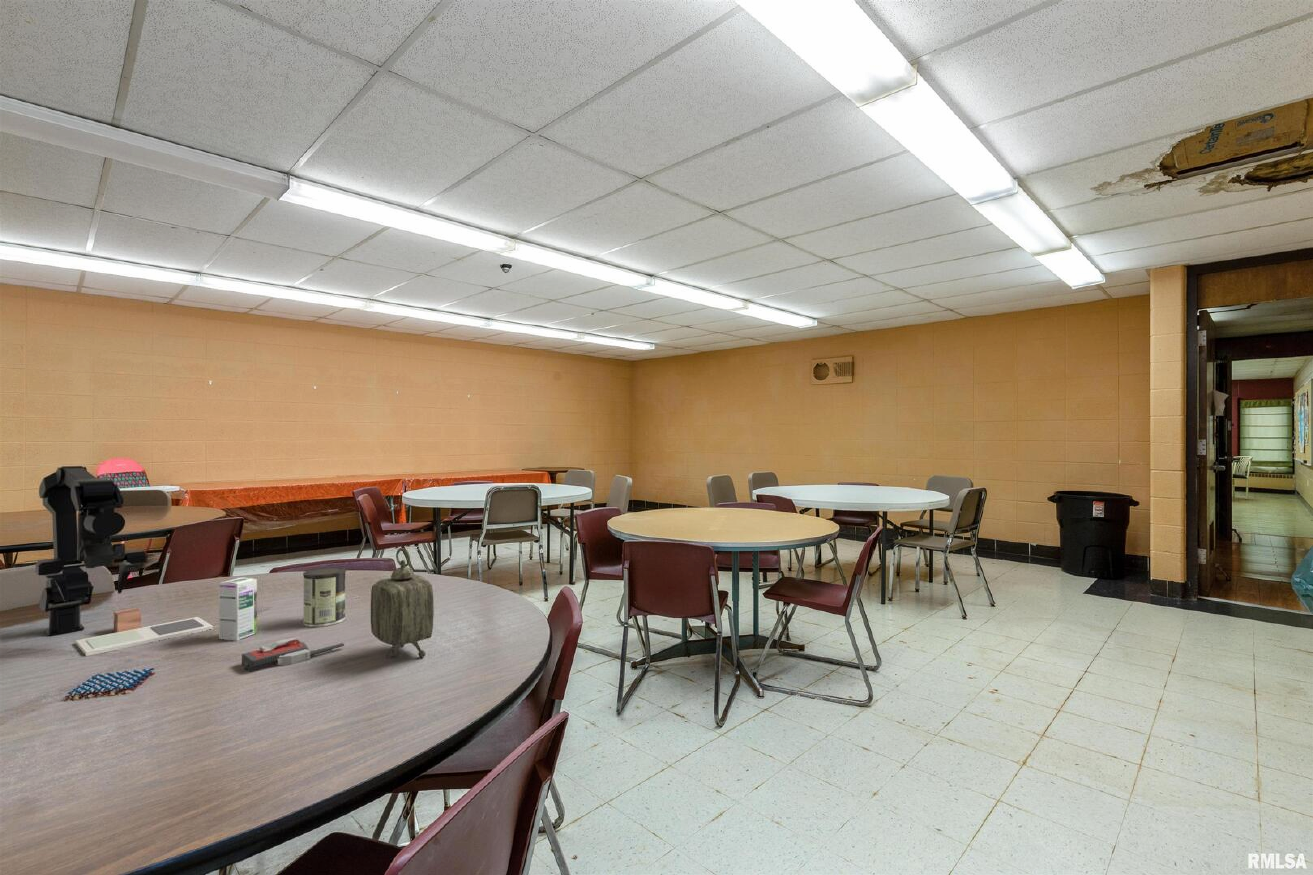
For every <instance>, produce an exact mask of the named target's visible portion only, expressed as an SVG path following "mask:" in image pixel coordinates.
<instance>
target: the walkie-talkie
mask: <svg viewBox="0 0 1313 875" xmlns="http://www.w3.org/2000/svg"><path fill="white" fill-rule="evenodd" d="M344 646H345V643H343V642H341V643H336V644H333V645H329V646H325V647H322V648H317V649H313V650H309V648H310V647H309V645H308V644H306V643H305V642H303V641H300V640H299V639H297V638H295V637H289V638H286V639H280V640H277V641H274V642H273V643H271V645H269V646H268V647H266V646H264V645H261V646H259V649H258V650H257V649H256V650H253V651H249V652H245V653H242V654H241V667H243V668H244V671H249V672H256V671H260V670H264V669H267V668H272V667H274V666H290V665H293V664H298V663H301V662H304V661H310V660H311V657H314V656H316V655H320V654H323V653H326V652H329V651H332V650H334V649H338V648H341V647H344Z"/></svg>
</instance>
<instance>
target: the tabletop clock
mask: <svg viewBox="0 0 1313 875" xmlns="http://www.w3.org/2000/svg"><path fill="white" fill-rule="evenodd" d="M400 552H404V553H405V555H406V558H407V562H406V560H405V559H402V560H400V558H399V554H400ZM395 556H396V557H395V558H396V562H397V563H398V565H399V566H400V567H397V568H396V569H395V570H393V571H392V573H391V574H390V575H391V576H390V577H388V578H383V579H379V580H378V581H377V582H376V583H374V584H372V585H371V591H370V629H371V633H372V635H373V636H374V637H375V638H376V639H377V640H379V641H380V642H382V643H385V644H387V645H390V646H392V647H391V650H389V651H388V654H387V656H388V658H393V657H395V656H396V649H395V648H396V647H400V646H401V647H402V646H405V645H406V644H411V645H413V646H414V647H415V648H416V649H417V651H418V653H417V654H418V656H419V658H424V657H425V656H426V651H425V649H421V647H420V645H419V641H424V640H427V639H430V638H432V636H433V630H434V629H433V628H434V617H435V616H434V613H435V612H434V609H435V608H434V607H435V606H434V605H435V604H434V591H433V584H432V583H431V582H430V581H429V580H428V579H427V578H425V577H423V576H422V575H419V574H414V571H413V569H412V568H410V567H408V566H409V565H410V563H411V555H410V553H409V550H407V549H406V548H404V547H401V548H400V547H399V548H398V549H397V550H396V555H395Z"/></svg>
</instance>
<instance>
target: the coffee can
mask: <svg viewBox="0 0 1313 875" xmlns="http://www.w3.org/2000/svg"><path fill="white" fill-rule="evenodd" d="M346 572H347V568H345V567H341V566H326V567H325V566H324V567H317V568H313V569H307V570H305V571H304V572H303V573H302V575H303V622H302V625H303V626H304V627H309V628H320V627H321V628H322V627H328V626H333V625H337V624H340V623H342V622H343V621H345V620H346Z"/></svg>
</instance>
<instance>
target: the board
mask: <svg viewBox="0 0 1313 875" xmlns="http://www.w3.org/2000/svg"><path fill="white" fill-rule="evenodd" d="M209 629H212V630H214V625H212V624H210V623H208V622H207V621H205V620H204V619H202V618H200V617H199V616H195V617H190V618H185V619H180V620H175V621H170V622H164V623H159V624H153V625H150V626H143V627H141V628H138V629H132V630H127V631H122V632H117V633H116V632H114V633H113V632H112V633H108V634H107V633H106V634H102V635H97V636H92V637H87V638H83V639H77V640H75V645H76V646H77V647H78V648H79V649H80V650H81V652H82V653H83V654H84V655H85V656H86V657H87V656H89V657H90V656H94V655H98V654H102V653H108V652H112V651H117V650H121V649H127V648H131V647H136V646H142V645H145V644H150V642H151V643H155V642H158V641H159V640H160V641H163V640H164V639H165V640H169V639H168V638H170V639H173V638H174V637H175V638H179V637H184V636H188V634H189V635H192V634H191V633H193V634H199V633H203V632H207V631H206V630H208V631H210V630H209ZM202 631H203V632H202ZM165 640H164V641H165ZM160 641H159V642H160Z"/></svg>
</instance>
